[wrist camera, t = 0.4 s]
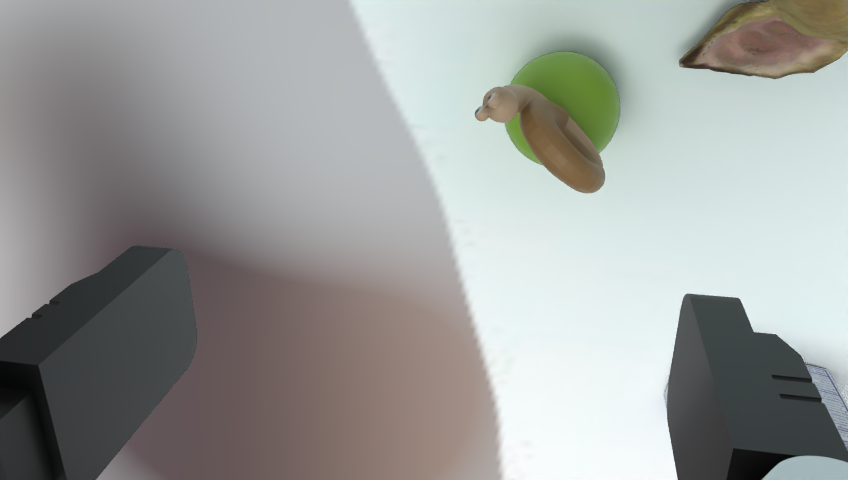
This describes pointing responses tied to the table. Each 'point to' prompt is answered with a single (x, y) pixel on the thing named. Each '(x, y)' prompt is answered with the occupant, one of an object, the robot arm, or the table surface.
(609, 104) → the snail figurine
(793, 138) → the table surface
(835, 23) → the ceramic sculpture
